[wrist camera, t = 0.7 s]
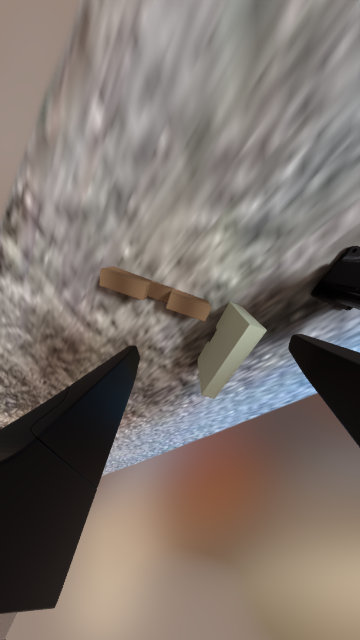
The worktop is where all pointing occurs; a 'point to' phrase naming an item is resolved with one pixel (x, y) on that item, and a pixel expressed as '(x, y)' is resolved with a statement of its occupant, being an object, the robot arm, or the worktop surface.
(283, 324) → the worktop surface
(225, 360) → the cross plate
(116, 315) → the worktop surface
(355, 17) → the worktop surface
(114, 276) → the walnut rail
